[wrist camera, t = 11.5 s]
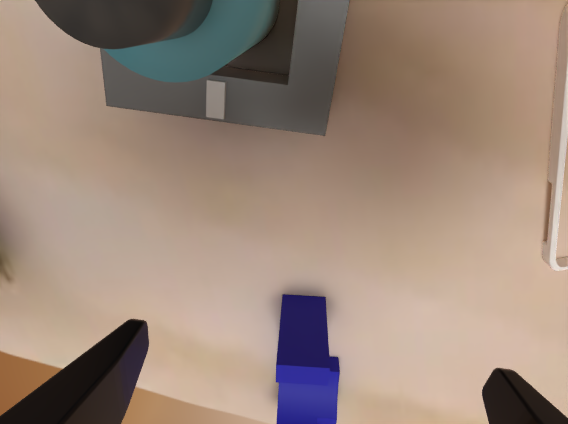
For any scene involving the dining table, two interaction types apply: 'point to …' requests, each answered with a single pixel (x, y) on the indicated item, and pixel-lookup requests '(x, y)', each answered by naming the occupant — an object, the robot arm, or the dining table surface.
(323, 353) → the cable clip
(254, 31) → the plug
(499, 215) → the dining table surface
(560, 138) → the phone case
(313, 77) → the socket
